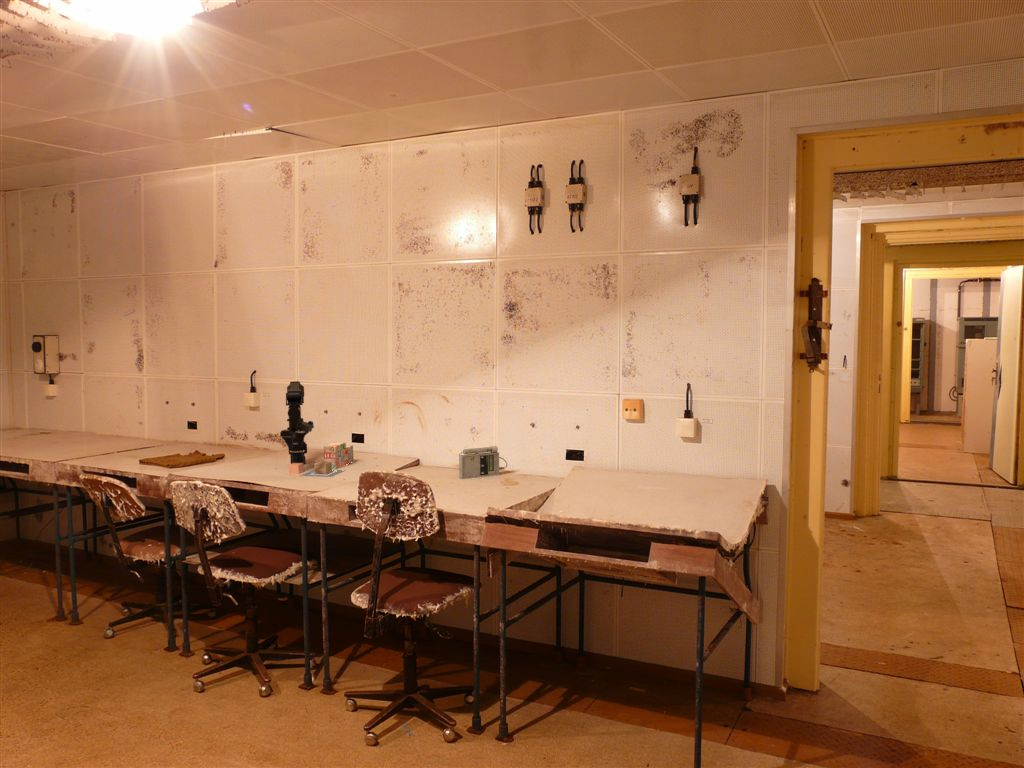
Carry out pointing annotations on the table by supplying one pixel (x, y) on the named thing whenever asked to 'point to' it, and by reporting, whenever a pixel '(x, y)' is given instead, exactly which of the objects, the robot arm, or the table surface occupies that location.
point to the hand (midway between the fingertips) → (295, 448)
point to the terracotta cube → (296, 468)
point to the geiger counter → (479, 462)
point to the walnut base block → (323, 467)
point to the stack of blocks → (338, 454)
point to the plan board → (333, 473)
